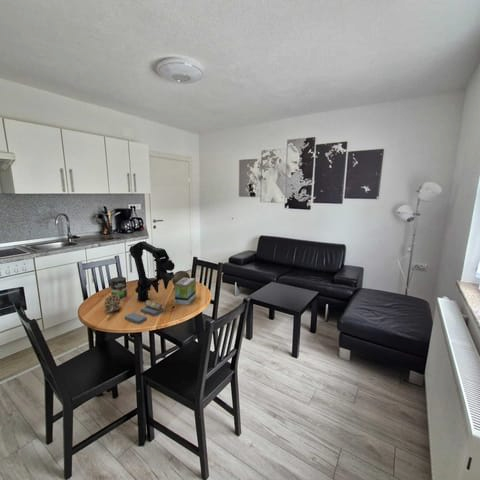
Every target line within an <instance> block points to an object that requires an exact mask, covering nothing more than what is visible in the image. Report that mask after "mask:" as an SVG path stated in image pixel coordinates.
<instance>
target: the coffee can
mask: <svg viewBox="0 0 480 480" xmlns="http://www.w3.org/2000/svg"><path fill="white" fill-rule="evenodd" d="M109 281H110V292H111V294H110V296H111V295H112V294H113V295H114V294H117V296H118V295H119V297H120V298H119V299H121V300H120V301H122V300H124V299H127V298H128V290H127V278H126V277H125V276H117V277H112V278H111V279H110V280H109Z"/></svg>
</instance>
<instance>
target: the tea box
mask: <svg viewBox="0 0 480 480" xmlns="http://www.w3.org/2000/svg"><path fill="white" fill-rule="evenodd" d="M196 279H197V278H195V277H190V278H182V279H181V280H179V281H178V282H177V283H175V286H174V304H175V305H185V306H188V305H189V304H190V303H192V302H193V300H194V299H195V298H196V296H197V293H196V292H197V284H196V283H197V281H196Z"/></svg>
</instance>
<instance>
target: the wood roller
mask: <svg viewBox="0 0 480 480" xmlns="http://www.w3.org/2000/svg"><path fill="white" fill-rule="evenodd" d="M146 306H147V307H150V308H153V309H157V310H160V309H161V308H163V304H162V303H160V302H156V301H152V300H150V299H148V300H146V301H144V307H146Z"/></svg>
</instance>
